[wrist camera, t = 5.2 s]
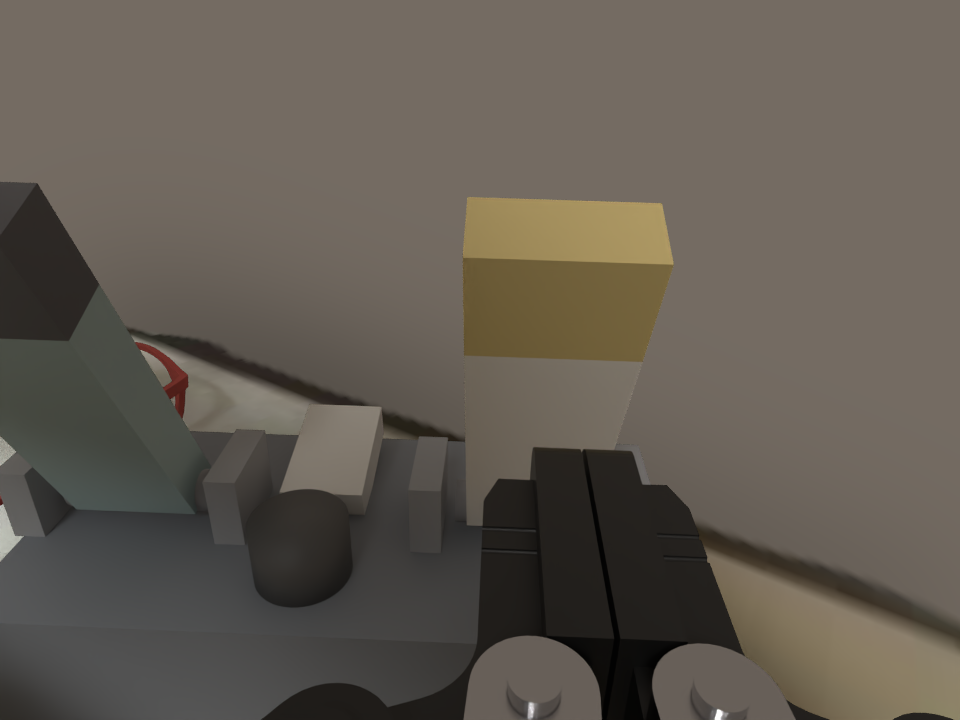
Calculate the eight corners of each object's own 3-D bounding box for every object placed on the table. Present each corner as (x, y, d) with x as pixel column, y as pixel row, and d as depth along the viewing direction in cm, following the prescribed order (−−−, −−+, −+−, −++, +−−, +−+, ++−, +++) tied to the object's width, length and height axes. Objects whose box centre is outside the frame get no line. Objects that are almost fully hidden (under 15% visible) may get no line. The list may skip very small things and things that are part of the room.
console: (-11, 734, 21) (-97, 552, 18) (140, 523, 30) (102, 375, 27) (643, 764, 21) (682, 585, 18) (602, 541, 30) (622, 394, 27)
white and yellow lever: (455, 533, 23) (441, 257, 13) (458, 485, 24) (448, 196, 14) (597, 539, 23) (695, 265, 13) (593, 490, 24) (681, 204, 14)
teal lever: (74, 518, 23) (-229, 233, 13) (94, 471, 24) (-171, 176, 14) (214, 523, 23) (16, 242, 13) (228, 476, 24) (56, 183, 14)
